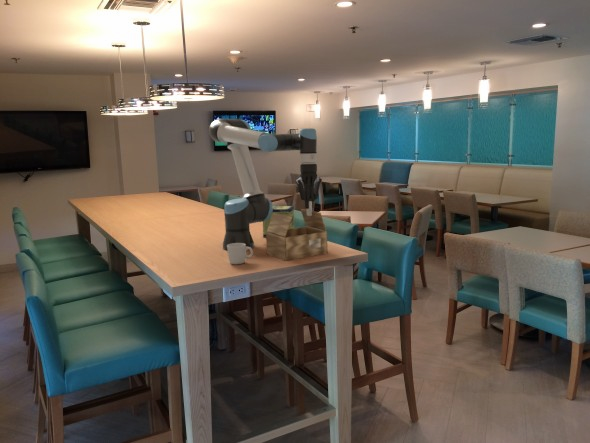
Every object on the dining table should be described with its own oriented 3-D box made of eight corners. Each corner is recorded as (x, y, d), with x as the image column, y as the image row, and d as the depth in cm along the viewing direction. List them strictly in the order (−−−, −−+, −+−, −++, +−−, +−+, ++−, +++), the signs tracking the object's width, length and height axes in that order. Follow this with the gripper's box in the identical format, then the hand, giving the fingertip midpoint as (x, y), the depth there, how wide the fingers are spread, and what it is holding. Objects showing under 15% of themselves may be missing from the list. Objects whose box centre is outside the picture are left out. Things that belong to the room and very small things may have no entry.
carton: (285, 261, 204) (285, 238, 202) (266, 253, 220) (265, 231, 218) (328, 253, 215) (327, 231, 214) (306, 246, 231) (306, 226, 229)
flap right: (325, 230, 214) (319, 213, 211) (306, 225, 228) (300, 209, 225) (326, 230, 214) (320, 212, 211) (306, 225, 228) (301, 208, 225)
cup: (253, 260, 207) (253, 242, 206) (252, 264, 200) (251, 246, 198) (228, 261, 207) (227, 243, 206) (226, 265, 199) (225, 247, 198)
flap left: (284, 236, 203) (291, 217, 204) (266, 230, 217) (273, 212, 218) (285, 236, 204) (292, 217, 204) (267, 231, 217) (274, 213, 218)
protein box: (291, 237, 253) (290, 208, 251) (262, 237, 257) (261, 208, 254) (295, 234, 264) (294, 206, 261) (267, 233, 267) (266, 206, 264)
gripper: (300, 164, 208) (301, 217, 211) (325, 163, 214) (325, 215, 218) (292, 163, 214) (293, 215, 218) (316, 162, 221) (316, 213, 224)
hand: (309, 215), depth 218 cm, fingers closed
